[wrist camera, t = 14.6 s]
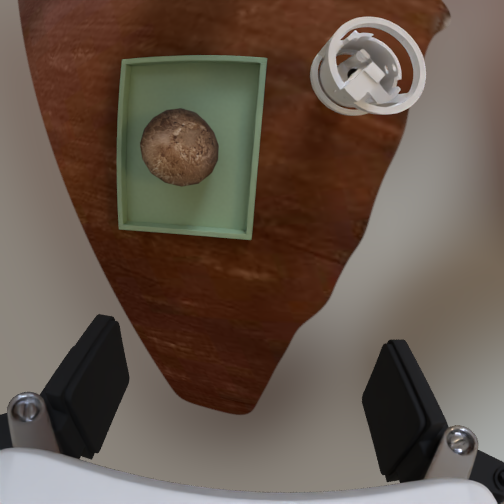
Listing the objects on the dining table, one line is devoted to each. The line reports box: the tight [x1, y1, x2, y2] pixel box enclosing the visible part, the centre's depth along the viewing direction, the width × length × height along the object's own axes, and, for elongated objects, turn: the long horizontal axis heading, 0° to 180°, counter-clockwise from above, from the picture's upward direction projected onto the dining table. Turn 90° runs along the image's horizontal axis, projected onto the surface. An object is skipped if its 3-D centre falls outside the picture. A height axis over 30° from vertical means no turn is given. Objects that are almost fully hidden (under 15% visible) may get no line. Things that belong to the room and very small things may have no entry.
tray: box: [117, 55, 267, 240], centre depth 32 cm, size 19×15×2 cm
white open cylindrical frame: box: [310, 17, 426, 116], centre depth 23 cm, size 7×7×15 cm
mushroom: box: [140, 108, 219, 187], centre depth 30 cm, size 8×8×6 cm
